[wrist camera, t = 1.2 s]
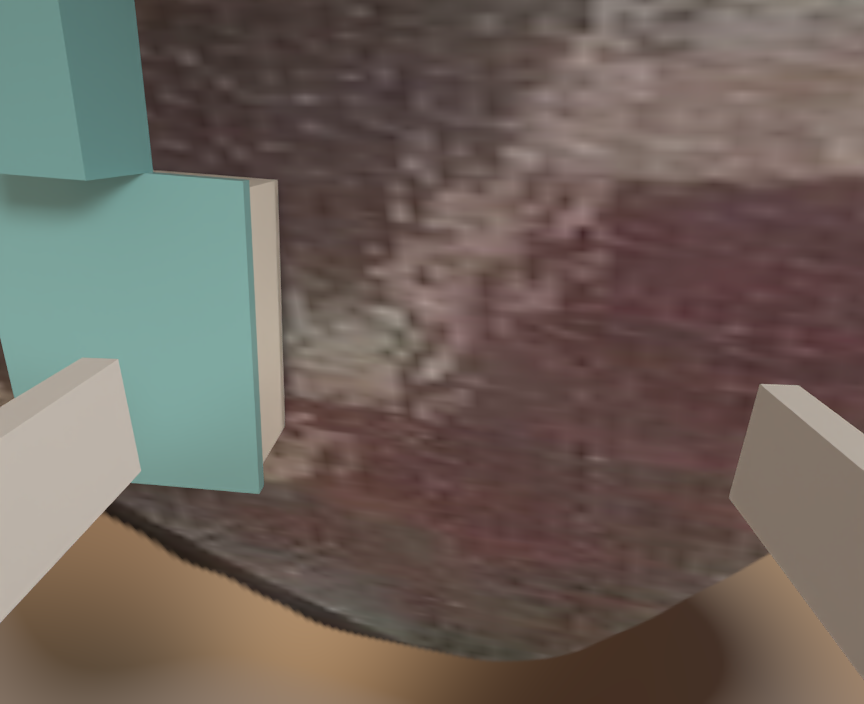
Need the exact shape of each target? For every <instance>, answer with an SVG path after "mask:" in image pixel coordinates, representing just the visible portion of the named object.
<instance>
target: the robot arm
mask: <svg viewBox="0 0 864 704" xmlns="http://www.w3.org/2000/svg"><path fill="white" fill-rule="evenodd" d="M140 472H141V467H140V462H139V458H138V453H137V448H136V443H135V438H134V433H133V428H132V424H131V419H130V414H129V409H128V404H127V399H126V394H125V390H124V385H123V380H122V375H121V370H120V365H119V360H118V359H107V358H81V359H79V360H77V361H76V362H74V363H72V364H71V365H69V366H67V367H66V368H64V369H62V370H61V371H59V372H57V373H56V374H54V375H52V376H51V377H49V378H47V379H46V380H44V381H42V382H41V383H39V384H38V385H36V386H34V387H33V388H31V389H29V390H28V391H26V392H24V393H23V394H21V395H19V396H18V397H16V398H14V399H13V400H11V401H9V402H8V403H6V404H4V405H3V406H1V407H0V623H1V621H2V620H3V619H4V618H5V617H6V616H7V615H8V614H9V613H10V612H11V611H12V610H13V608H14V607H15V606H16V605H17V604H18V603H19V602H20V601H21V600H22V599H23V598H24V597H25V596H26V595H27V593H28V592H29V591H30V590H31V589H32V588H33V587H34V586H35V585H36V584H37V583H38V582H39V580H40V579H41V578H42V577H43V576H44V575H45V574H46V573H47V572H48V571H49V570H50V569H51V568H52V567H53V565H54V564H55V563H56V562H57V561H58V560H59V559H60V558H61V557H62V556H63V555H64V554H65V553H66V552H67V550H68V549H69V548H70V547H71V546H72V545H73V544H74V543H75V542H76V541H77V540H78V539H79V538H80V536H81V535H82V534H83V533H84V532H85V531H86V530H87V529H88V528H89V527H90V526H91V525H92V523H93V522H94V521H95V520H96V519H97V518H98V517H99V516H100V515H101V514H102V513H103V512H104V511H105V510H106V508H107V507H108V506H109V505H110V504H111V503H112V502H113V501H114V500H115V499H116V498H117V497H118V496H119V494H120V493H121V492H122V491H123V490H124V489H125V488H126V487H127V486H128V485H129V484H130V483H131V482H132V481H133V479H134V478H135V477H136V476H137V475H138V474H139V473H140ZM729 499H730V500H731V501H732V503H733V504H734V505H735V507H736V508H737V509H738V511H739V512H740V513H741V515H742V516H743V518H744V519H745V520H746V522H747V523H748V524H749V526H750V527H751V528H752V530H753V531H754V532H755V534H756V535H757V536H758V538H759V539H760V540H761V542H762V543H763V545H764V546H765V547H766V549H767V550H768V551H769V553H770V554H771V555H772V557H773V558H774V559H775V561H776V562H777V563H778V565H779V566H780V568H781V569H782V570H783V571H784V573H785V574H786V575H787V577H788V578H789V579H790V581H791V582H792V584H793V585H794V586H795V588H796V589H797V590H798V592H799V593H800V595H801V596H802V597H803V599H804V600H805V601H806V603H807V604H808V605H809V607H810V608H811V609H812V611H813V612H814V613H815V615H816V616H817V617H818V619H819V620H820V621H821V623H822V624H823V626H824V627H825V628H826V630H827V631H828V632H829V633H830V635H831V636H832V638H833V639H834V640H835V642H836V643H837V645H838V646H839V647H840V649H841V650H842V651H843V653H844V654H845V655H846V657H847V658H848V659H849V661H850V662H851V663H852V665H853V666H854V667H855V669H856V670H857V672H858V673H859V674H860V676H861V677H862V678H863V680H864V434H863V433H862V432H860V431H859V430H858V429H856V428H855V427H854V426H852V425H851V424H850V423H848V422H847V421H846V420H844V419H843V418H842V417H840V416H839V415H838V414H836V413H835V412H834V411H832V410H831V409H830V408H828V407H827V406H826V405H824V404H823V403H822V402H820V401H819V400H817V399H816V398H815V397H813V396H812V395H811V394H809V393H808V392H807V391H805V390H804V389H803V388H801V387H800V386H799V385H773V384H760V385H759V389H758V393H757V396H756V400H755V404H754V407H753V411H752V415H751V418H750V422H749V426H748V429H747V433H746V437H745V440H744V444H743V448H742V451H741V455H740V459H739V462H738V466H737V470H736V473H735V477H734V481H733V484H732V488H731V492H730V495H729Z"/></svg>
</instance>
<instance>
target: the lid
mask: <svg viewBox="0 0 864 704" xmlns="http://www.w3.org/2000/svg"><path fill="white" fill-rule="evenodd" d="M0 339H1V343H2V347H3V351H4V356H5V360H6V364H7V369H8V373H9V377H10V381H11V386H12V390H13V394H14V398H16V397H18V396H19V395H21V394H23V393H24V392H26V391H28V390H29V389H31V388H33V387H34V386H36V385H38V384H39V383H41V382H42V381H44V380H46V379H47V378H49V377H51V376H52V375H54V374H56V373H57V372H59V371H61V370H62V369H64V368H66V367H67V366H69V365H71V364H72V363H74V362H76V361H77V360H79V359H81V358H107V359H118V360H119V365H120V370H121V375H122V380H123V385H124V390H125V394H126V399H127V404H128V409H129V414H130V419H131V424H132V428H133V433H134V438H135V443H136V448H137V453H138V458H139V462H140V467H141V472H140V473H139V474H138V475H137V476H136V477H135V478H134V479H133V481H132V482H131V483H140V484H151V485H163V486H174V487H186V488H197V489H209V490H221V491H232V492H244V493H255V494H260V492H261V490H262V488H263V486H264V476H263V456H262V435H261V414H260V393H259V373H258V352H257V331H256V310H255V290H254V269H253V248H252V228H251V207H250V186H249V180H246V179H234V178H221V177H209V176H196V175H184V174H172V173H159V172H153V166H152V157H151V148H150V139H149V130H148V121H147V112H146V102H145V93H144V84H143V75H142V66H141V57H140V48H139V39H138V30H137V21H136V12H135V2H134V0H0Z"/></svg>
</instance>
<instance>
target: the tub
mask: <svg viewBox="0 0 864 704" xmlns="http://www.w3.org/2000/svg"><path fill="white" fill-rule="evenodd" d="M153 172H159V173H172V174H184V175H196V176H209V177H221V178H234V179H246V180H249V186H250V207H251V228H252V248H253V269H254V290H255V310H256V331H257V352H258V373H259V393H260V414H261V435H262V456H263V463H264V461H265V459H266V458H267V456H268V454H269V453H270V451H271V449H272V447H273V446H274V444H275V442H276V441H277V439H278V437H279V435H280V434H281V432H282V430H283V429H284V427H285V407H284V374H283V340H282V306H281V272H280V239H279V205H278V180H273V179H261V178H248V177H236V176H223V175H211V174H199V173H186V172H174V171H161V170H153Z"/></svg>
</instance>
